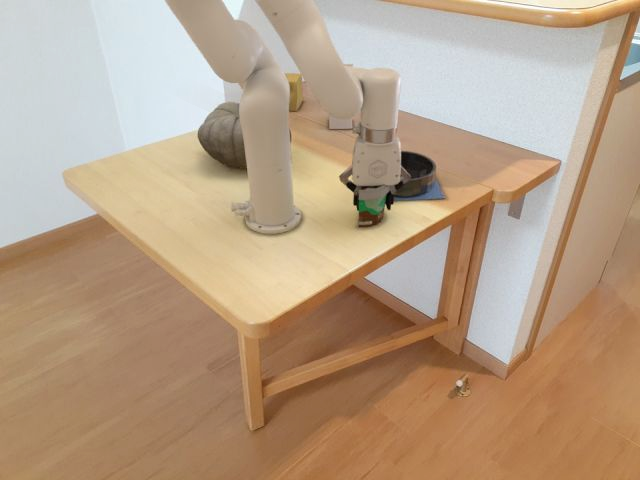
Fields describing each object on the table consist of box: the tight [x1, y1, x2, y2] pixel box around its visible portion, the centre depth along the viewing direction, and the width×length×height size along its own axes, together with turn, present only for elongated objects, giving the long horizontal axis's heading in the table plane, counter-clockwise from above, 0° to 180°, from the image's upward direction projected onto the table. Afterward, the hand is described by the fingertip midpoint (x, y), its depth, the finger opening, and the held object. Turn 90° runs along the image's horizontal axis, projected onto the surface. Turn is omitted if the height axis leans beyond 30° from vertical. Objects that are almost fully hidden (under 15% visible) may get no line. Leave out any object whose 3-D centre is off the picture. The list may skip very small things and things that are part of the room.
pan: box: [394, 150, 437, 198], centre depth 129 cm, size 16×16×5 cm
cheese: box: [284, 72, 304, 112], centre depth 174 cm, size 10×11×10 cm
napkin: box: [394, 178, 446, 202], centre depth 130 cm, size 18×18×1 cm
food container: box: [357, 185, 390, 228], centre depth 114 cm, size 12×6×10 cm, turn 169°
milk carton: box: [328, 63, 354, 130], centre depth 156 cm, size 7×7×19 cm
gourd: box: [197, 101, 292, 169], centre depth 138 cm, size 25×25×17 cm
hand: (373, 206), depth 115 cm, fingers closed on food container, 6 cm apart
